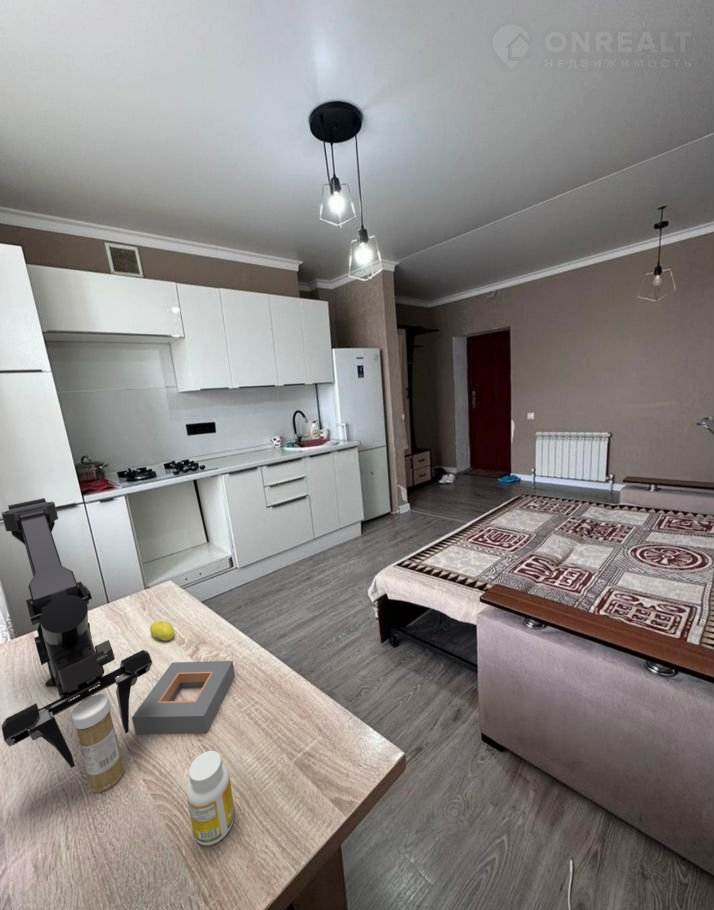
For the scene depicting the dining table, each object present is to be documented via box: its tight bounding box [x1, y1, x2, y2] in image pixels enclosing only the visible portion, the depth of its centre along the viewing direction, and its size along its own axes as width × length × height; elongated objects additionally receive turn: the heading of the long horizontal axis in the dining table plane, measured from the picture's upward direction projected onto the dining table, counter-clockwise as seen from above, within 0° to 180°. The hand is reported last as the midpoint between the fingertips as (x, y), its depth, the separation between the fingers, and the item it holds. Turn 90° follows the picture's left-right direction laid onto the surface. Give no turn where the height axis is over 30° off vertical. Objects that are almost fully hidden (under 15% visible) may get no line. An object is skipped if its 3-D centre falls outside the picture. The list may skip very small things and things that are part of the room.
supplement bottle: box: [186, 750, 236, 846], centre depth 50 cm, size 5×5×10 cm
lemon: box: [149, 620, 175, 641], centre depth 92 cm, size 4×8×4 cm, turn 53°
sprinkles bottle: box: [71, 693, 125, 793], centre depth 57 cm, size 5×5×13 cm
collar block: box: [131, 660, 236, 735], centre depth 71 cm, size 13×13×4 cm
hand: (101, 748), depth 56 cm, fingers open, 7 cm apart
